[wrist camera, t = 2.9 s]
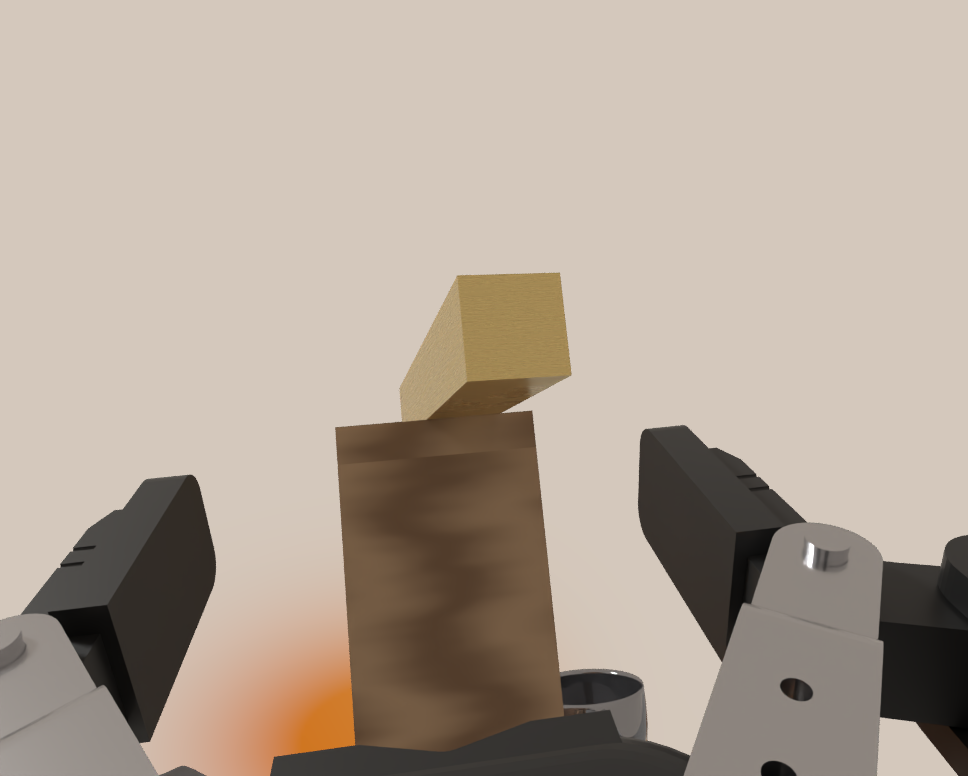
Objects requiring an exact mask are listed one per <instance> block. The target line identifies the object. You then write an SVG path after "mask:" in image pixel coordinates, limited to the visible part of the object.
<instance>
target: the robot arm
mask: <svg viewBox="0 0 968 776" xmlns="http://www.w3.org/2000/svg"><path fill="white" fill-rule="evenodd" d="M638 510H639V518H640V523H641V527H642V530H643V533H644V535H645V537H646V539H647V541H648V543H649V544H650V546H651V547H652V549H653V551H654V552H655V554H656V555H657V557H658V559H659V560H660V562H661V564H662V565H663V567H664V569H665V570H666V572H667V573H668V575H669V577H670V578H671V580H672V582H673V583H674V585H675V587H676V588H677V590H678V591H679V593H680V595H681V596H682V598H683V600H684V601H685V603H686V604H687V606H688V607H689V609H690V611H691V613H692V614H693V616H694V617H695V619H696V621H697V622H698V624H699V625H700V627H701V629H702V630H703V632H704V634H705V635H706V637H707V639H708V640H709V642H710V643H711V645H712V647H713V648H714V650H715V651H716V653H717V655H718V657H719V658H720V660H721V661H722V665H721V668H720V671H719V673H718V676H717V679H716V682H715V685H714V688H713V691H712V694H711V697H710V700H709V703H708V706H707V708H706V711H705V714H704V717H703V720H702V723H701V727H700V729H699V732H698V735H697V738H696V741H695V744H694V747H693V750H692V753H691V755H690V756H689V755H687V754H685V753H682V752H680V751H678V750H675V749H673V748H670V747H667V746H663V745H660V744H657V743H654V742H651V741H645V740H640V739H635V738H629V737H620V735H619V733H618V730H617V727H616V725H615V722H614V719H613V716H612V714H611V711H610V710H604V711H597V712H590V713H583V714H576V715H569V716H561V717H554V718H547V719H540V720H533V721H529V722H526V723H523V724H521V725H518V726H515V727H513V728H510V729H508V730H505V731H502V732H500V733H497V734H494V735H492V736H489V737H486V738H484V739H481V740H479V741H476V742H473V743H471V744H468V745H465V746H463V747H460V748H458V749H454V750H451V751H445V752H437V751H426V750H414V749H402V748H390V747H378V746H366V745H355V746H349V747H341V748H334V749H327V750H320V751H313V752H306V753H298V754H291V755H284V756H277V757H274V760H273V764H272V769H271V774H270V776H877V761H878V743H879V723H880V717H882V718H890V719H898V720H906V721H914V722H916V723H917V724H918V726H919V727H920V728H921V730H922V731H923V732H924V734H926V736H927V737H928V739H929V740H930V741H931V742H932V743H933V745H934V746H935V747H936V748H937V749H938V751H939V752H940V753H941V755H942V756H943V757H944V758H945V760H946V761H947V762H948V763H949V765H950V766H951V767H952V768H953V770H954V771H955V772H956V773H957V775H958V776H968V535H966V536H960V537H957V538H954V539H952V540H950V541H949V542H948V543H947V545H946V547H945V550H944V555H943V559H942V563H941V566H931V565H918V564H906V563H894V562H886V561H883V559H882V556H881V554H880V552H879V551H878V550H877V548H876V547H875V546H874V545H873V544H872V543H870V542H869V541H868V540H866V539H865V538H863V537H861V536H859V535H858V534H856V533H853V532H851V531H849V530H845V529H843V528H840V527H836V526H832V525H827V524H821V523H807V522H806V521H805V520H804V519H803V518H802V517H801V516H800V515H799V514H798V513H797V512H795V510H794V509H793V508H792V507H790V506H789V505H788V504H787V503H786V502H785V501H784V500H783V499H782V498H781V497H780V496H779V495H778V494H777V493H776V492H775V491H773V490H772V489H769V486H768V485H767V484H766V483H765V482H764V481H763V480H762V479H761V478H760V477H756V474H755V473H754V471H752V470H751V469H750V468H749V467H748V466H747V465H746V464H745V463H744V462H743V461H742V460H741V459H739V458H737V457H735V456H733V455H731V454H728V453H726V452H724V451H722V450H720V449H718V448H708V447H707V446H706V445H705V444H704V443H703V442H702V441H701V440H700V439H699V438H698V437H697V436H696V435H695V434H694V433H693V432H692V431H690V429H689V428H688V427H687V426H685V425H681V426H671V427H662V428H652V429H645V430H644V431H643V432H642V435H641V439H640V460H639V493H638ZM215 559H216V558H215V551H214V546H213V542H212V538H211V534H210V529H209V525H208V521H207V517H206V513H205V508H204V504H203V500H202V495H201V491H200V487H199V484H198V482H197V480H196V478H195V477H194V476H193V475H183V476H173V477H164V478H154V479H146V480H145V481H144V482H143V483H142V484H141V485H140V487H139V488H138V490H137V491H136V492H135V494H134V495H133V496H132V498H131V499H130V500H129V502H128V503H127V504H126V506H125V507H124V509H123V510H115V511H113V512H112V513H110V514H109V515H107V516H106V517H104V518H103V519H101V520H100V521H99V522H97V523H96V524H94V525H93V526H91V527H90V528H88V530H87V531H86V532H85V534H84V535H83V536H82V537H81V539H80V540H79V541H78V542H77V544H76V545H75V546H74V547H73V552H70V553H69V554H68V555H67V556H66V558H65V559H64V560H63V561H62V563H61V564H60V565H61V568H57V569H56V571H55V572H54V573H53V574H52V575H51V577H50V578H49V579H48V581H47V582H46V583H45V584H44V586H43V587H42V588H41V589H40V591H39V592H38V593H37V595H36V596H35V597H34V598H33V600H32V601H31V602H30V603H29V605H28V606H27V607H26V608H25V610H24V611H23V612H22V614H21V615H18V616H13V617H9V618H6V619H2V620H0V776H158V774H157V772H156V770H155V769H154V767H153V766H152V764H151V762H150V760H149V759H148V757H147V756H146V754H145V752H144V750H143V748H142V747H141V745H140V743H143V742H150V740H151V738H152V735H153V733H154V730H155V728H156V725H157V723H158V720H159V718H160V716H161V713H162V711H163V708H164V706H165V703H166V701H167V698H168V696H169V694H170V691H171V689H172V686H173V684H174V682H175V679H176V677H177V674H178V672H179V669H180V667H181V664H182V662H183V660H184V657H185V655H186V652H187V650H188V647H189V645H190V642H191V640H192V637H193V635H194V633H195V630H196V628H197V625H198V623H199V620H200V618H201V616H202V613H203V611H204V608H205V606H206V603H207V601H208V598H209V596H210V594H211V591H212V589H213V586H214V582H215V575H216V560H215Z"/></svg>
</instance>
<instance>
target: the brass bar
mask: <svg viewBox="0 0 968 776" xmlns="http://www.w3.org/2000/svg"><path fill="white" fill-rule="evenodd" d="M569 376H571V366H570V358H569V349H568V340H567V331H566V323H565V314H564V306H563V296H562V288H561V279H560V273H534V274H499V275H460V276H457V277H456V279H455V281H454V283H453V285H452V287H451V289H450V291H449V293H448V295H447V297H446V299H445V301H444V303H443V305H442V306H441V308H440V310H439V312H438V315H437V316H436V318H435V320H434V322H433V324H432V326H431V328H430V330H429V332H428V334H427V336H426V338H425V340H424V342H423V344H422V345H421V348H420V350H419V351H418V353H417V355H416V357H415V359H414V361H413V363H412V365H411V367H410V369H409V371H408V373H407V375H406V377H405V379H404V381H403V383H402V384H401V386H400V400H401V412H402V422H406V421H417V420H429V419H441V418H453V417H464V416H476V415H488V414H499V413H502V412H504V411H506V410H507V409H509V408H511V407H513V406H515V405H517V404H519V403H520V402H522V401H524V400H526V399H528V398H530V397H532V396H534V395H535V394H537V393H539V392H541V391H543V390H545V389H547V388H549V387H550V386H552V385H554V384H556V383H558V382H560V381H562V380H563V379H565V378H567V377H569Z"/></svg>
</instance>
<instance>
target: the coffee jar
mask: <svg viewBox="0 0 968 776" xmlns="http://www.w3.org/2000/svg"><path fill="white" fill-rule="evenodd" d="M159 776H205V775H204V774H201V773H200V772H198V771H196V770H194V769H192V768H189V767H187V766H180V767H177V768H175V769H173V770H171V771H169V772H167V773H164V774H162V775H159Z"/></svg>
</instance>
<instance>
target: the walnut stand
mask: <svg viewBox="0 0 968 776" xmlns="http://www.w3.org/2000/svg"><path fill="white" fill-rule="evenodd" d="M335 430H336V446H337V461H338V476H339V493H340V508H341V525H342V541H343V556H344V572H345V586H346V604H347V620H348V636H349V652H350V667H351V683H352V698H353V714H354V731H355V745H366V746H378V747H390V748H402V749H414V750H426V751H437V752H445V751H451V750H454V749H458V748H460V747H463V746H465V745H468V744H471V743H473V742H476V741H479V740H481V739H484V738H486V737H489V736H492V735H494V734H497V733H500V732H502V731H505V730H508V729H510V728H513V727H515V726H518V725H521V724H523V723H526V722H529V721H533V720H540V719H547V718H554V717H561V716H564V710H563V700H562V691H561V681H560V672H559V662H558V653H557V643H556V633H555V624H554V615H553V607H552V606H553V605H552V595H551V586H550V577H549V567H548V557H547V548H546V538H545V529H544V519H543V510H542V500H541V490H540V481H539V471H538V463H537V452H536V443H535V433H534V424H533V414H532V411H523V412H511V413H499V414H488V415H476V416H464V417H453V418H441V419H429V420H417V421H406V422H395V423H383V424H372V425H359V426H348V427H336V428H335Z"/></svg>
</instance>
